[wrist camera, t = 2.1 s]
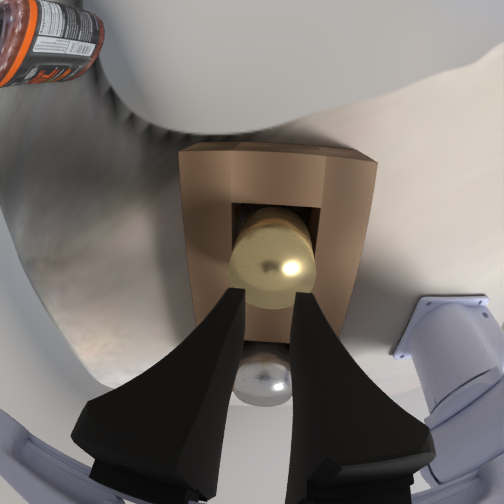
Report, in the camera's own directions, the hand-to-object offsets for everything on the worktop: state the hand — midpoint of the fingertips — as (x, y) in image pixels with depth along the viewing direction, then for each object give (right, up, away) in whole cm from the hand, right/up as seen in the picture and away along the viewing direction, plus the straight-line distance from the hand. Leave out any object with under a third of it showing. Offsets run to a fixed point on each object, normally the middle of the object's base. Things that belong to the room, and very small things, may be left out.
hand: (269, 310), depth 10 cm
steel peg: (0, -6, +10) cm, 12 cm away
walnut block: (+1, 0, +11) cm, 11 cm away
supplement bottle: (-14, +18, +3) cm, 23 cm away
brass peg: (+1, +3, +6) cm, 6 cm away
